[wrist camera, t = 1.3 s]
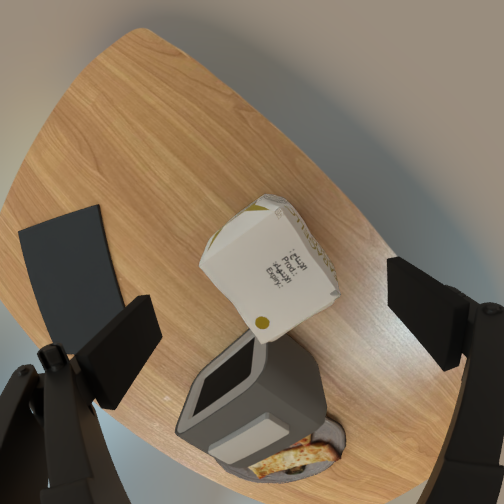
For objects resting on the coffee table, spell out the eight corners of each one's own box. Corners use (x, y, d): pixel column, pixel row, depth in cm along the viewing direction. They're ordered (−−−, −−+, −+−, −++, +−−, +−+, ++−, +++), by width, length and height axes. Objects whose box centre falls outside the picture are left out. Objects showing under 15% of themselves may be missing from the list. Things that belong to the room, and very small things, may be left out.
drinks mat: (19, 231, 38) (17, 231, 38) (99, 204, 36) (96, 204, 36) (59, 352, 44) (57, 353, 43) (141, 353, 42) (140, 355, 41)
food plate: (329, 387, 41) (333, 401, 38) (353, 456, 45) (356, 468, 42) (192, 420, 45) (188, 433, 41) (243, 480, 49) (242, 492, 46)
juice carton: (275, 185, 34) (281, 186, 16) (314, 241, 36) (357, 300, 17) (225, 220, 36) (179, 260, 17) (266, 274, 37) (261, 360, 19)
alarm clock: (268, 310, 38) (266, 383, 23) (323, 357, 40) (342, 434, 25) (195, 374, 42) (167, 447, 27) (248, 412, 43) (239, 485, 28)
